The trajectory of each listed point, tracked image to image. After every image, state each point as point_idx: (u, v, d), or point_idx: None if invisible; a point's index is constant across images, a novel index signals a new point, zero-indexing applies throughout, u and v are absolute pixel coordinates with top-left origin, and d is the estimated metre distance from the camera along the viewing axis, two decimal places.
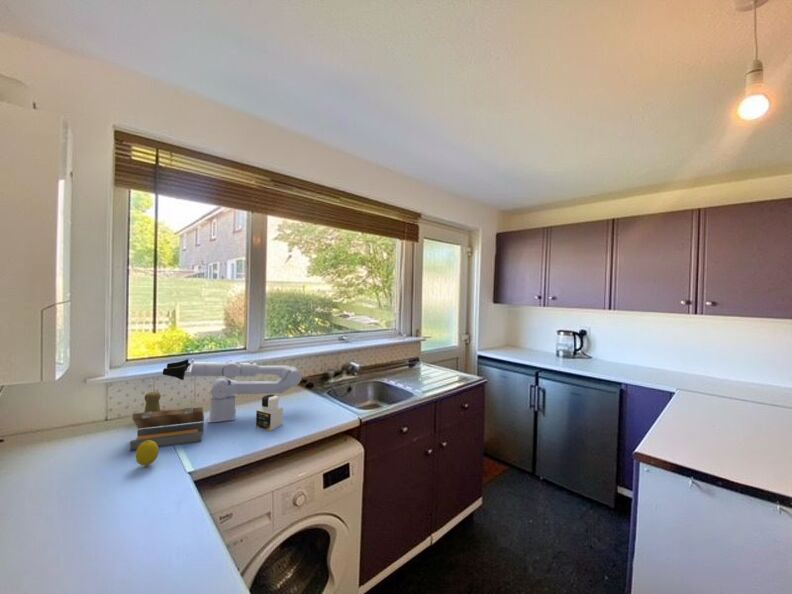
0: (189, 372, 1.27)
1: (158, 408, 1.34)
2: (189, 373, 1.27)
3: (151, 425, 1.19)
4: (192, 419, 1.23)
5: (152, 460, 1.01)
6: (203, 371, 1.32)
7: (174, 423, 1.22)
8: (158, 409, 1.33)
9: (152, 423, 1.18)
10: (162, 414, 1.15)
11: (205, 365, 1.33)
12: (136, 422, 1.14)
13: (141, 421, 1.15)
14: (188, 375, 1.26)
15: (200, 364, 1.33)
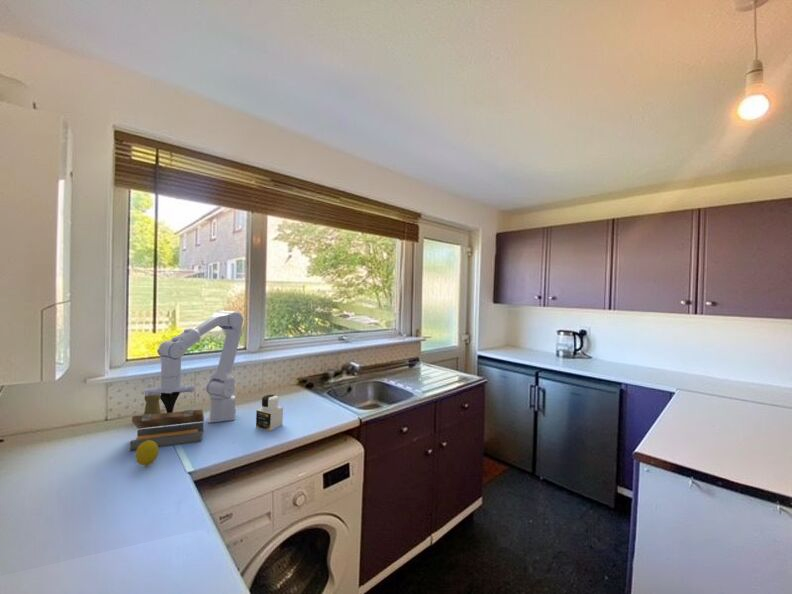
0: (194, 387, 1.21)
1: (158, 408, 1.34)
2: (194, 387, 1.21)
3: (151, 426, 1.19)
4: (192, 420, 1.23)
5: (152, 460, 1.01)
6: (180, 376, 1.19)
7: (174, 423, 1.22)
8: (158, 409, 1.33)
9: (151, 424, 1.18)
10: (162, 417, 1.14)
11: (176, 376, 1.17)
12: (136, 424, 1.14)
13: (140, 423, 1.14)
14: (194, 387, 1.22)
15: (175, 381, 1.17)
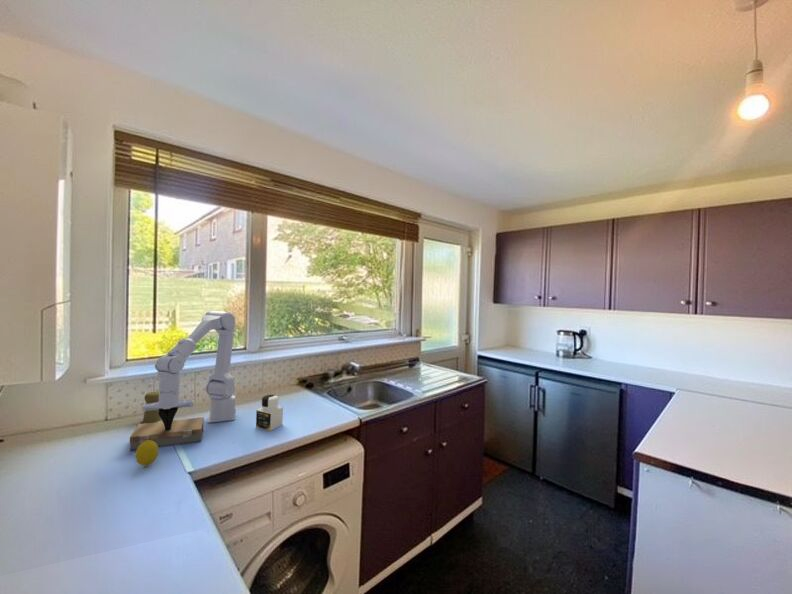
0: (193, 402, 1.18)
1: None
2: (193, 402, 1.19)
3: None
4: None
5: (152, 460, 1.01)
6: (178, 391, 1.17)
7: None
8: None
9: None
10: (160, 437, 1.13)
11: (175, 391, 1.15)
12: None
13: None
14: (193, 402, 1.19)
15: (173, 396, 1.14)
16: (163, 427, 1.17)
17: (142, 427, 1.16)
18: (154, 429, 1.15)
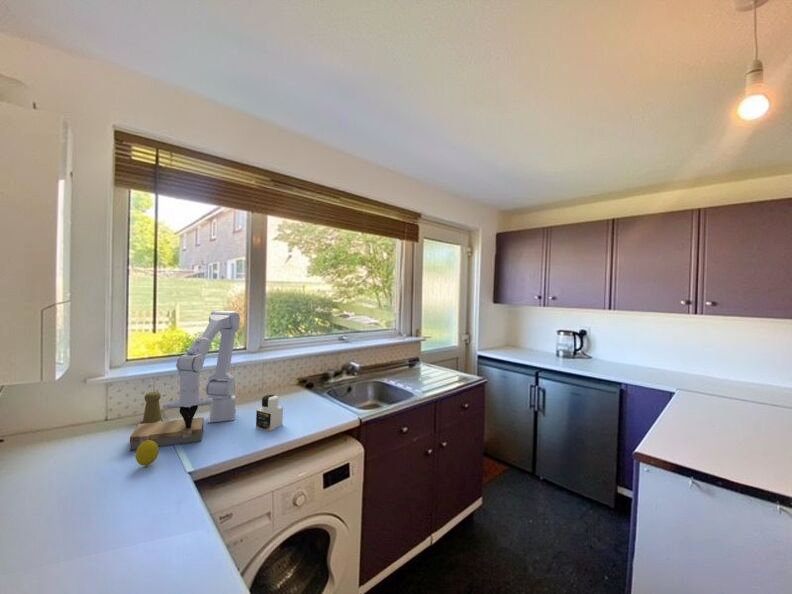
0: (212, 400, 1.21)
1: (158, 408, 1.34)
2: (212, 400, 1.21)
3: None
4: None
5: (152, 460, 1.01)
6: (198, 389, 1.19)
7: None
8: (158, 409, 1.33)
9: None
10: (160, 437, 1.13)
11: (195, 390, 1.17)
12: None
13: None
14: (212, 400, 1.22)
15: (194, 395, 1.17)
16: (163, 427, 1.17)
17: (142, 427, 1.16)
18: (154, 429, 1.15)
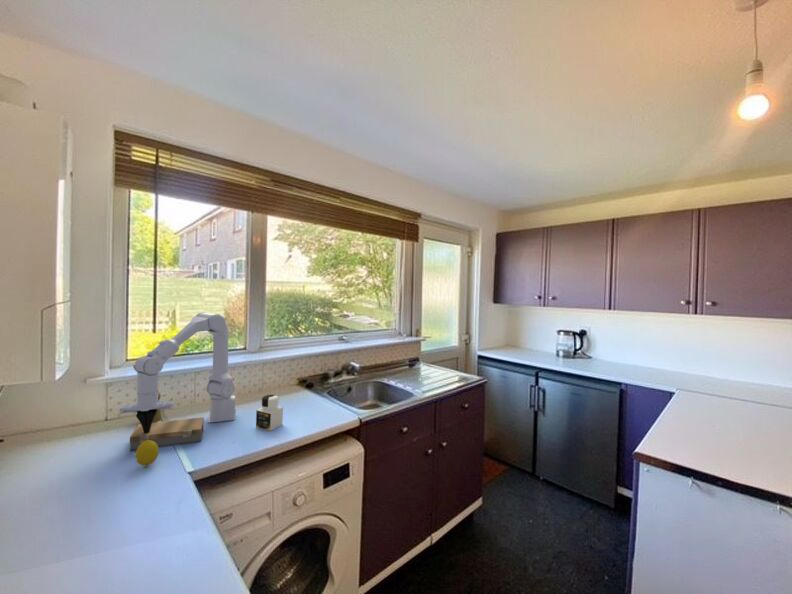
0: (172, 404, 1.16)
1: None
2: (173, 403, 1.16)
3: None
4: None
5: (152, 460, 1.01)
6: None
7: None
8: None
9: None
10: (160, 437, 1.13)
11: (153, 393, 1.12)
12: None
13: None
14: (173, 403, 1.17)
15: (152, 398, 1.12)
16: (163, 427, 1.17)
17: None
18: (154, 429, 1.15)
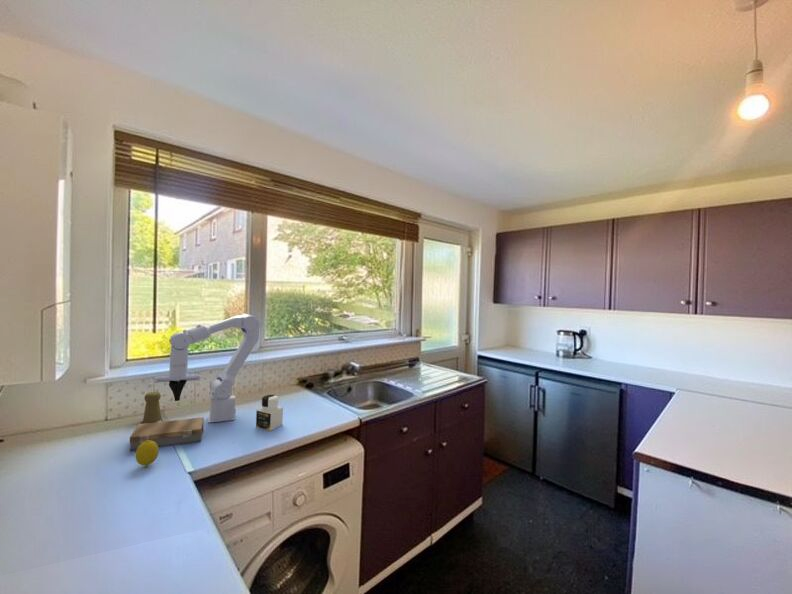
0: (200, 376, 1.30)
1: (158, 408, 1.34)
2: (200, 376, 1.31)
3: None
4: None
5: (152, 460, 1.01)
6: (187, 365, 1.29)
7: None
8: (158, 409, 1.33)
9: None
10: (160, 437, 1.13)
11: (184, 365, 1.27)
12: None
13: None
14: (200, 376, 1.31)
15: (182, 370, 1.26)
16: (163, 427, 1.17)
17: (142, 427, 1.16)
18: (154, 429, 1.15)
